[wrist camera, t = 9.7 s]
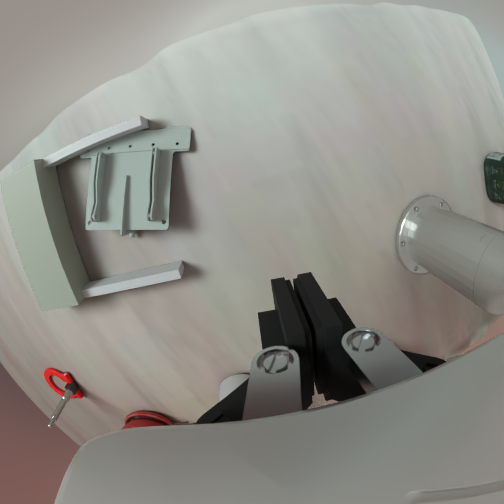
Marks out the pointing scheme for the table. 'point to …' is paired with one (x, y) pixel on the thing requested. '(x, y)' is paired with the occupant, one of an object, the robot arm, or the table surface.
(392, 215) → the table surface
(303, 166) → the table surface
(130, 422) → the plant pot
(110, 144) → the metal bracket
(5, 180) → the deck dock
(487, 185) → the coffee jar
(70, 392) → the tow hook
